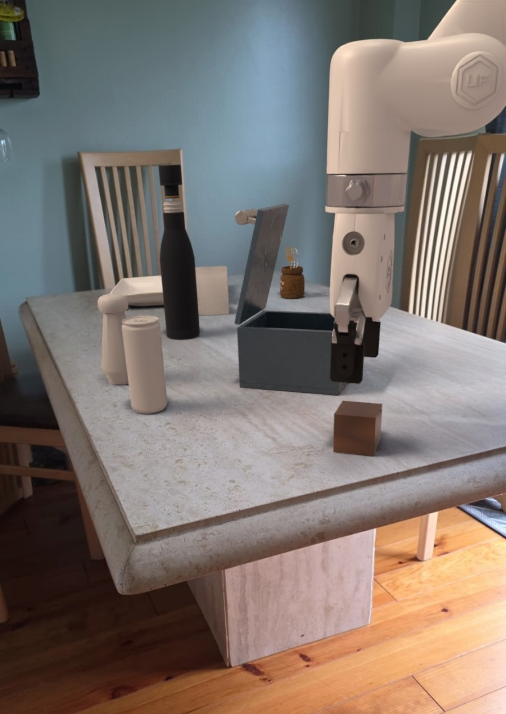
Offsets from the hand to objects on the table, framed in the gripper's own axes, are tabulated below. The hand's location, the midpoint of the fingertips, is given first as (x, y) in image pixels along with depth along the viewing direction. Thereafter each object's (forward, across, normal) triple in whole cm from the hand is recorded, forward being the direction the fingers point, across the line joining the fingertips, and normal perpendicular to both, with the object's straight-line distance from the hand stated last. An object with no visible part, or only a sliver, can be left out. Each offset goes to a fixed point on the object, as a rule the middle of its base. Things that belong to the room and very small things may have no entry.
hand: (355, 368), depth 66 cm
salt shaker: (+10, +15, +38) cm, 42 cm away
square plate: (+10, +78, +61) cm, 100 cm away
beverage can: (+10, +5, +28) cm, 30 cm away
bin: (+9, +22, +12) cm, 27 cm away
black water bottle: (+10, +43, +41) cm, 61 cm away
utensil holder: (+9, +84, +31) cm, 90 cm away
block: (+9, 0, -1) cm, 9 cm away
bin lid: (-7, +22, +18) cm, 29 cm away
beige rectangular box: (+10, +63, +43) cm, 77 cm away
